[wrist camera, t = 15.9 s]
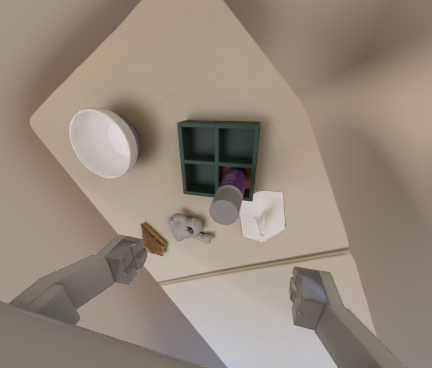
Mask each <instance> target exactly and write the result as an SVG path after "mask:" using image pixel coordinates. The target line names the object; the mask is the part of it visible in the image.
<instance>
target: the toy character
mask: <svg viewBox="0 0 432 368" xmlns="http://www.w3.org/2000/svg"><path fill="white" fill-rule="evenodd" d="M168 222H169V224H170V225H171V226H172V232H173V234H174V237H175V239H176V240H177V241H181V240H183V239H184V238H188V237H194V238H196V239H198V240H200V241H203V242H205V243H207V244H208V243H210V242H211V240H212V237H211V235H209V234H202V233H200V232H202V231H203V230H202V228H203V225H202V223H201V221H200V220H199V219H197V218H187V217H186V216H185V215H183V214H175V215H173V217H170V218H169V221H168Z"/></svg>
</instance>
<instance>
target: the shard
mask: <svg viewBox="0 0 432 368" xmlns="http://www.w3.org/2000/svg"><path fill="white" fill-rule="evenodd" d="M141 227H142V233H143V240H144V243H145V245H144V246H145V249H146V251H148V252H150V253H153V254H157V255H160V256H164V248H165V247H166V246H167V243H166V242H165V241H163V240H162V238H160V237H159V236H158V234H157V233H156V232H155V231H154V230H153V229H152V228H151V227H149V226H148V225H146V224H145V223H143V224H141Z"/></svg>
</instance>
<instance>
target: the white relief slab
mask: <svg viewBox="0 0 432 368" xmlns="http://www.w3.org/2000/svg"><path fill="white" fill-rule="evenodd" d="M282 193H283V192H273V191H260V192H256V193H254V194H253V201H243V200H242V204H241V208H240V211H239V213H240V217H241V218H240V219H241V225H242V232H243V237H246V238H249V239H253V240H257V241H259V242H264V241H266V240H268V239H270V238H271V237H273V236H274V235H276V234H278V233H279V232H281V231H282V230H283V229H285V218H284V202H283V194H282Z"/></svg>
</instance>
